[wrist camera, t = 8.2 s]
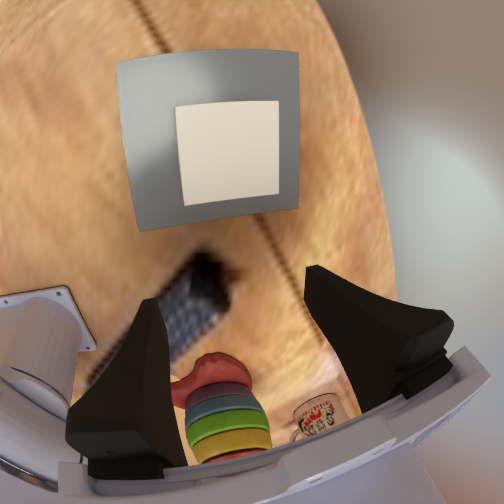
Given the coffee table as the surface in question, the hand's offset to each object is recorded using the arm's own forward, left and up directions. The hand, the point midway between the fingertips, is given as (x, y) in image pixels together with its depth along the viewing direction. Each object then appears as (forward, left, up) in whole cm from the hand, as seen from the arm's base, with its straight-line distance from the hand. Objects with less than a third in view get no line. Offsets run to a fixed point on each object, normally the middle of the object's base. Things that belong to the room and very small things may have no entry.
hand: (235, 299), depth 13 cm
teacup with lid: (+13, -39, -10) cm, 42 cm away
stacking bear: (-2, -22, -10) cm, 24 cm away
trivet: (+1, +6, -10) cm, 12 cm away
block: (+1, +6, -9) cm, 11 cm away
